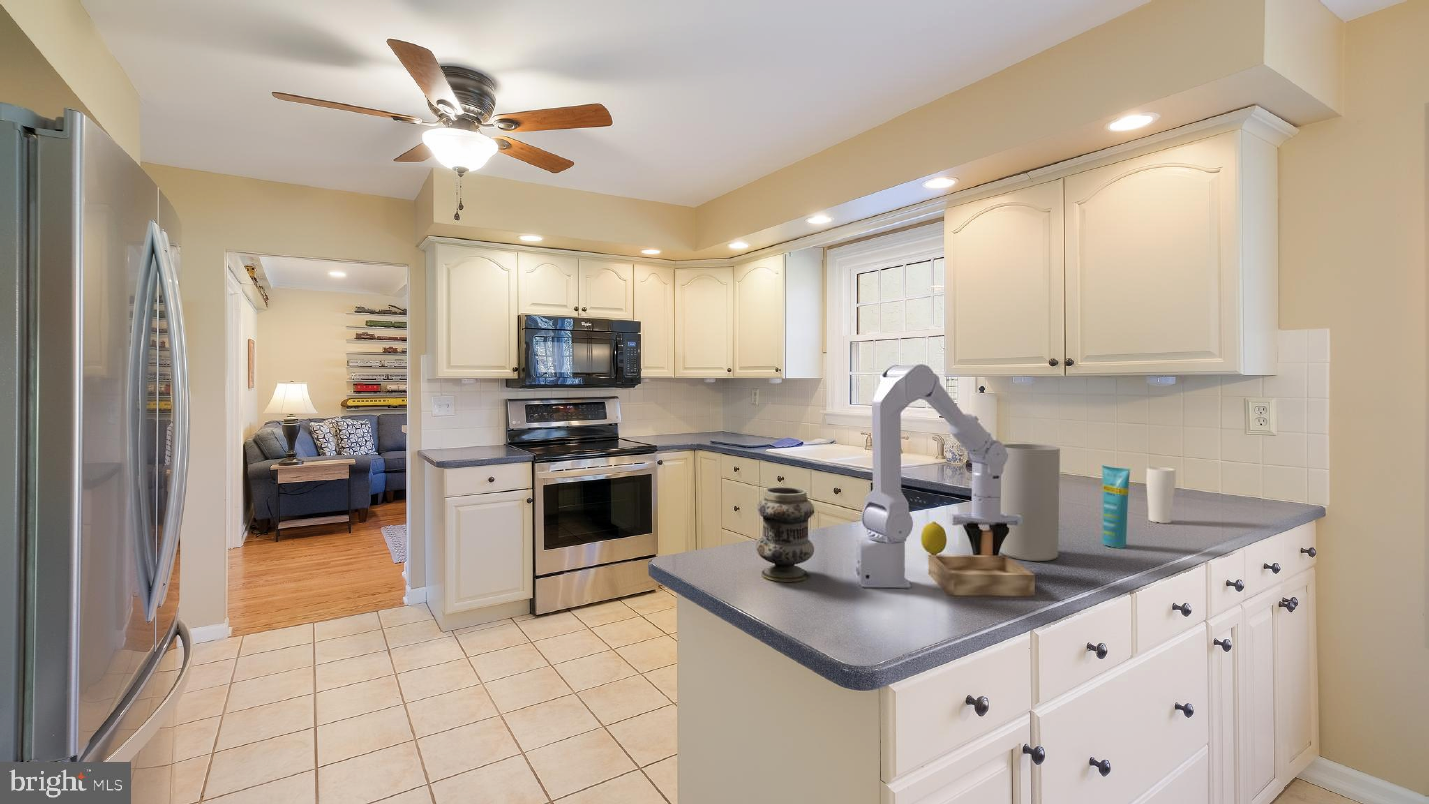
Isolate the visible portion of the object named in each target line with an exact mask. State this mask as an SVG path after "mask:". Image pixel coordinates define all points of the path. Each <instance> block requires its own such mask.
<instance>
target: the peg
mask: <svg viewBox="0 0 1429 804" xmlns="http://www.w3.org/2000/svg"><path fill="white" fill-rule="evenodd" d="M980 529H981V530H982V535H981V543H980V555H993V531H992V530H990V529H989V528H988V529H987V528H986V529H985V528H980Z"/></svg>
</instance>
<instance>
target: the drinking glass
mask: <svg viewBox="0 0 1429 804" xmlns="http://www.w3.org/2000/svg"><path fill="white" fill-rule="evenodd" d="M1145 472H1146V473H1145V487H1146V488H1145V489H1146V499H1147V501H1146V502H1147V510H1148V511H1147V512H1148V515H1147V517H1148V521H1149V520H1150V522H1151V521H1152V522H1151V523H1155V522H1159V523H1158V524H1163V523H1166V524H1170V523H1172V514H1173V505H1174V499H1175V498H1174V497H1175V490H1176V479H1177V478H1176V477H1177V475H1176V469H1175V468H1171V467H1162V466H1161V467H1160V466H1149V467H1146V471H1145Z"/></svg>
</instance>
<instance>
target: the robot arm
mask: <svg viewBox="0 0 1429 804" xmlns="http://www.w3.org/2000/svg"><path fill="white" fill-rule="evenodd" d="M878 378H879V385H878V386H877V388H876V392H875V394H874V397H873V399H872V404H871V411H872V412H871V413H872V414H871V416H872V417H871V418H872V419H871V422H872V423H871V427H872V430H871V435H872V436H871V437H872V442H871V443H872V490H871V491H870V492H869V493H867V494H866V496H865V497H864V505H863V509H862V511H861V515H860V516H861V518H860V519H861V524H862V525H863V527H864V528H865V529H866V535H867V536H866V537H860V538H857V539H856V543H855V544H856V545H855V577H856V579H857V581H858V582H859V584H860V585H861V587H862V588H898V589H899V588H900V589H901V588H903V589H905V588H907V589H909V588H911V587H912V585H911V583H909V581H908V580H907V578H906V577H905V574H906V572H905V571H906V570H905V569H906V565H905V564H906V563H905V562H906V561H905V560H906V558H905V557H906V554H905V553H906V542H907V538H908V537H909V536H910V535H911V533H912V531H913V526H914V521H913V517H912V515H911V513H910V509H909V507H910V506H909V501H908V500H907V498H906V496H905V495H904V493H903V492H902V441H901V439H902V436H901V433H902V427H901V425H902V422H901V420H902V418H901V417H902V412H903V411H904V410H905V409H906V408H907V407H908V406H909V405H910V404H912V403H913V402H916V401H918V400H923V401H926V402H927V404H928V405H929V406H930V407H932V409H933V410H935V411H936V413H938V414H939V415H940V416H941V418H943V420H945V422H947V423H948V424H949V426H948V432H949V434H950V435H951V436H952V437H954V439H955V440H956V441H957V442H958V443H959V444H960V445H961V446H962V448H963V449H964V451H965V457H966V459H967V461H969V462H970V463H971V464H972V465H971V467H972V468H971V512H969V513H958V514H957V513H956V514H950V515H949V523H950V525H952V526H960V525H961V526H963V529H964V532H965V533H966V536H967V538H968V541H969V543H970V547H971V550H972V555H980V543H981V535H982V530H981V529H982V528H981V527H980V526H986V525H987V526H988V530H992V531H993V555H995V556H999V554H1000V548H1001V545H1002V543H1003V541H1004V539H1005V538H1006V536H1007V535H1008V533H1009V527H1007V525H1017V526H1022V517H1021V516H1019V515H1006V514H1001V475H1002V473H1003V470H1004V465H1005V463H1006V462H1007V459H1008V453H1007V451H1006V448H1005V447H1004V445H1003V444H1004V443H1002V442H1001V441H1000V440H997V439H993V437H992V433H991V432H990V431H987V430H986V429H985V428H984V426H983V425H982V424H981V423H980V422H979V420H980V419H979V418H978V416H977V415H973V414H971V413H963V412H962V410H961V409H960V407H959V406H958V405H957V403H956V402H955V401H954V400H953V398H952V397H951V396H950V395H949V393H948V392H947V391H946V389H945V388H944V386H942V384H941V382H940V377H939V375H937V374H936V373H935V372H934V371H933V370H932V368H931V367H929V366H928V365H927V364H923V363H921V364H915V365H913V364H912V365H911V364H908V365H899V364H893V365H890V366H889V367H887V368H886V369H885V370H884V371H883V372H882V373H880V374H879V377H878Z"/></svg>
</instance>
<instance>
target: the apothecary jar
mask: <svg viewBox="0 0 1429 804" xmlns="http://www.w3.org/2000/svg"><path fill="white" fill-rule="evenodd" d="M756 509H757V513H758V514H759V516H760V517H762V536H761V538H759V540H758V541H757V543H756V545H755V546H756V549H755V550H756V553H757V555H759V557H761V559H763V560H765V561H766V562H768V563H771V564H774V565H770V566H769V567H765V568H764V569H763V570H762V571H761V576H762V577H763V578H764V579H766V580H769V581H771V582H772V581H773V582H779V583H797V582H802V581H804V580H807V577H809V576H810V574H809V572H808V571H807V570H806V569H803V568H802V567H800V566H798V565H799V564H803V563H804V562H806V561H808V560H809V559H810V558H811V557H812V556H813V555H814V552H815V546H814V544H813V543H812V541H811V540H810V539H809V519H810V518H812V516H813V515H814V513H815V507H814V504H813V502H811V501H810V500H809V499H808V494H807V491H806V489H804V488H801V487H795V486H794V487H793V486H772V487H768V488H766V489H765V494H764V496H763V498H762V499H761V500H760V501H759V502H758V504H757V507H756Z"/></svg>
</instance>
